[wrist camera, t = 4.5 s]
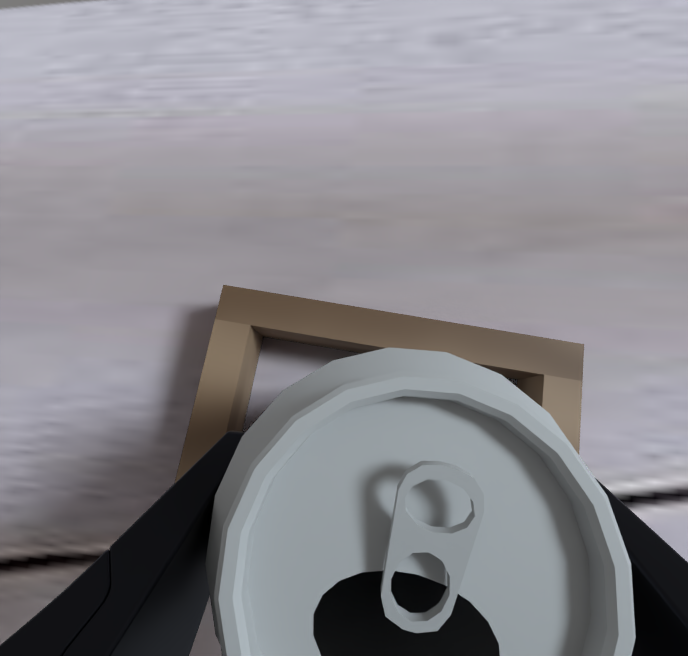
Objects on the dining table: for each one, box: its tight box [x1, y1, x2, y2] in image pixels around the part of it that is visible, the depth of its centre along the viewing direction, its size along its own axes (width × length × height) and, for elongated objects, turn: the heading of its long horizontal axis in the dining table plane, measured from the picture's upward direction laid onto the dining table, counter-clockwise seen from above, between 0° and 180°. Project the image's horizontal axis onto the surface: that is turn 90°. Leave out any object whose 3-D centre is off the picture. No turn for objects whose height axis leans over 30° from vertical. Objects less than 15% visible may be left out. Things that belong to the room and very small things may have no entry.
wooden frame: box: [174, 285, 584, 484], centre depth 16 cm, size 12×15×2 cm
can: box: [205, 347, 636, 656], centre depth 11 cm, size 8×8×12 cm
